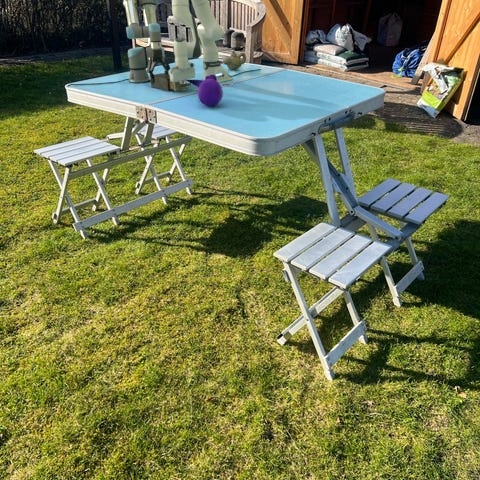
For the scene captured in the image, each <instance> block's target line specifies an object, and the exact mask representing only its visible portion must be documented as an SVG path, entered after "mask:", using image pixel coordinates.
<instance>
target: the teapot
mask: <svg viewBox="0 0 480 480" xmlns="http://www.w3.org/2000/svg"><path fill="white" fill-rule="evenodd" d="M241 58H242V59H241ZM222 61H223V62H224V63H223V65H225V66H227V69H228V71H229V70H230V71H238V70H239V69H240V68H241V67H242V65H244V64H245V63H246V61H247V56H246V53H245V52H243V51H242V52H239V54H237V53H236V52H235V50H232V51H231V54H230V56H226V57H224V58H223V60H222Z"/></svg>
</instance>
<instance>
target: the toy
mask: <svg viewBox="0 0 480 480" xmlns="http://www.w3.org/2000/svg"><path fill="white" fill-rule="evenodd" d="M186 81H187V83H191V85H193V86H194V87H197V88H198V89H197V97H198V100H199V102H200V103H201V105H204V106H207V107H215V106H217V105H218V104H219V103H220V102H221V101H222V99H223V96H224V92H223V87H222V85H221V83H220V82H217V78H216V76H215V75H209V76H206V77H205V80H203V79H187V80H186Z"/></svg>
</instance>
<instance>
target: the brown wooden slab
mask: <svg viewBox="0 0 480 480" xmlns="http://www.w3.org/2000/svg"><path fill="white" fill-rule="evenodd" d="M149 79H150V80H151V78H150V77H149ZM168 80H170V73H169V74H165V72H162V73H157V74H154V82H155V83H152V82H151V81H150V85H151V86H150V87H151V88H153V89H157V90H161V91H164V92H173V91H174V90H172V89H169V81H168Z"/></svg>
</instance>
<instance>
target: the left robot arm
mask: <svg viewBox="0 0 480 480" xmlns="http://www.w3.org/2000/svg"><path fill="white" fill-rule="evenodd" d="M122 5H123V8H124V9H125V15H126V19H127V26H126V27H125V29H126V31H125V32H126V37H127V38H128V39H131V40H132V39H133V40H138V39H146V41H147V42H146V43H147V44H146V46H145V48H144V47H143V46H137V47H132V48H130V49H128V50H127V57H128V64H129V65H128V66H129V76H128V78H125V79H122V80H117V81H107V82H97V83H95V82H94V83H69V84H70V85H69V84H68V85H67V87H68V88H69V87H70V86H89V85H93V86H94V85H106V84H115V83H116V84H117V83H121V82H125V81H128V82H129V83H133V84H141V83H148V82H150V83H151V82H152V83H155V82H154V75H155V74H154V70H155V67H156V66H162V68H163V69H164V71H163V73H165V74H170V69H171V68H172V67H171V66H170V64H169V61H168V58H167V55H165V48H164V47H163V45H162V43H163V42H162V33H161V25H160V23H157V17H156V10H157V7H158V6H159V1H158V0H122ZM137 7H139V8H140V10H141V11H142V13H143V19H144V25H140V21H139V16H138V10H137ZM150 78H151V79H150ZM72 131H73V135H74V137H76V132H75V129H73V130H72Z"/></svg>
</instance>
